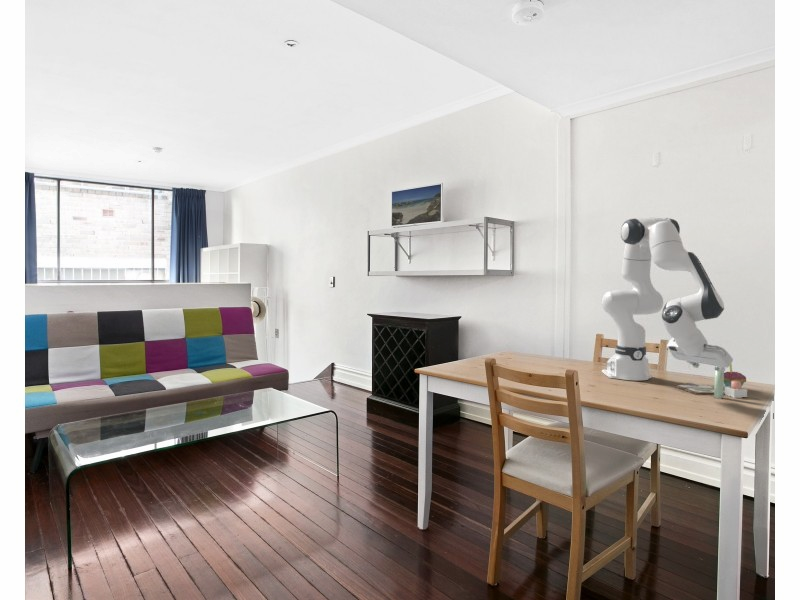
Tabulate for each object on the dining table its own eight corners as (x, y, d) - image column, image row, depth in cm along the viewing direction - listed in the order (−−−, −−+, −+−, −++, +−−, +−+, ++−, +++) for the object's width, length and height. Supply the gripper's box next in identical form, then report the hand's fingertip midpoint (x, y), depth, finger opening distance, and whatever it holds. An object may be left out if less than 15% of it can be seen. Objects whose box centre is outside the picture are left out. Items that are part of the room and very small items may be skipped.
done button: (729, 391, 185) (729, 380, 184) (736, 391, 185) (737, 380, 185) (734, 393, 182) (735, 382, 181) (742, 393, 182) (742, 382, 182)
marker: (711, 396, 182) (712, 364, 182) (719, 396, 182) (720, 364, 182) (717, 398, 179) (718, 366, 179) (725, 398, 180) (726, 366, 179)
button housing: (724, 394, 186) (724, 386, 186) (737, 394, 186) (737, 386, 186) (733, 397, 181) (734, 389, 181) (747, 397, 181) (747, 389, 181)
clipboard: (671, 385, 201) (671, 382, 201) (704, 385, 201) (705, 382, 201) (695, 394, 186) (695, 391, 186) (731, 394, 186) (731, 391, 186)
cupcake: (735, 392, 189) (736, 361, 188) (714, 387, 197) (715, 358, 196) (751, 390, 192) (752, 360, 191) (730, 386, 200) (731, 357, 199)
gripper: (726, 340, 165) (743, 366, 169) (670, 333, 183) (687, 357, 188) (717, 354, 163) (734, 380, 168) (662, 346, 182) (679, 370, 186)
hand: (709, 368), depth 178 cm, fingers open, 8 cm apart
